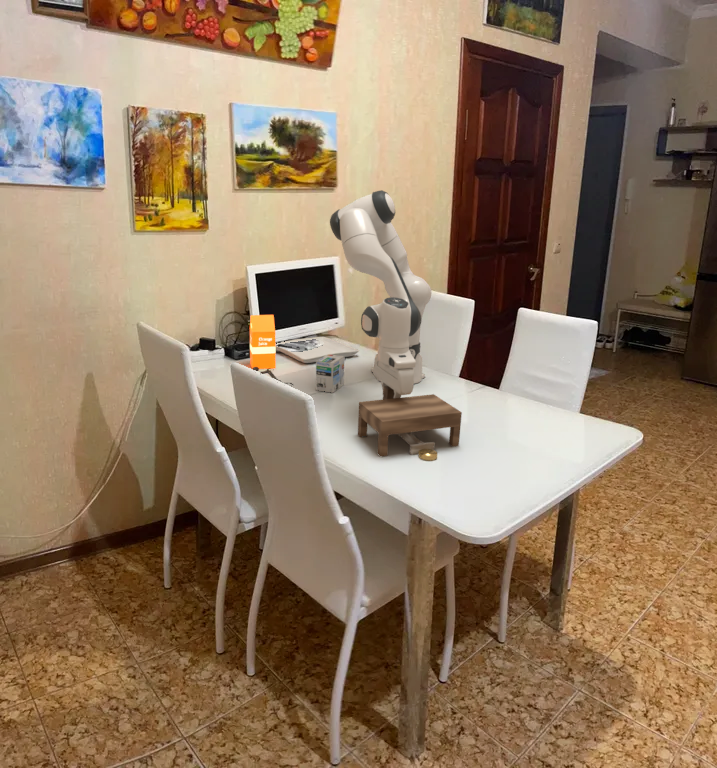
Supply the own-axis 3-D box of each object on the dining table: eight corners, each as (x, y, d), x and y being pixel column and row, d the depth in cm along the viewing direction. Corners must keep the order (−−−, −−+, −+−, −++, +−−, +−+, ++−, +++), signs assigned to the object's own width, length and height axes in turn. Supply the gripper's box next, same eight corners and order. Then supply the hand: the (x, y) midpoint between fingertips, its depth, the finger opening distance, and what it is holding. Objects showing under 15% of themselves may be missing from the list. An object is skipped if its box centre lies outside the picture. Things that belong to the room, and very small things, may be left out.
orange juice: (250, 363, 248) (249, 313, 242) (272, 362, 251) (272, 312, 245) (252, 369, 241) (251, 317, 235) (275, 368, 243) (275, 316, 237)
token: (415, 455, 172) (415, 450, 171) (431, 453, 174) (432, 447, 173) (423, 462, 167) (423, 457, 167) (440, 460, 169) (440, 455, 169)
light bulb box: (333, 393, 218) (333, 363, 215) (315, 390, 220) (315, 360, 217) (344, 384, 227) (345, 355, 224) (327, 382, 230) (327, 353, 226)
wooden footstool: (357, 434, 183) (359, 401, 180) (431, 425, 192) (433, 394, 189) (380, 456, 169) (382, 421, 166) (458, 445, 178) (461, 412, 175)
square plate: (269, 351, 268) (269, 342, 267) (324, 343, 284) (324, 335, 283) (303, 367, 248) (303, 357, 246) (360, 358, 263) (360, 349, 262)
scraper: (375, 422, 193) (376, 385, 189) (396, 420, 195) (398, 383, 192) (411, 454, 171) (413, 413, 168) (434, 451, 174) (437, 410, 170)
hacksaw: (252, 369, 242) (252, 366, 241) (278, 368, 245) (278, 364, 245) (265, 389, 220) (265, 385, 220) (294, 387, 224) (294, 383, 224)
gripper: (369, 346, 193) (367, 389, 197) (398, 365, 175) (395, 412, 179) (388, 345, 195) (386, 387, 199) (419, 363, 177) (415, 410, 181)
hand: (390, 399), depth 189 cm, fingers open, 5 cm apart
